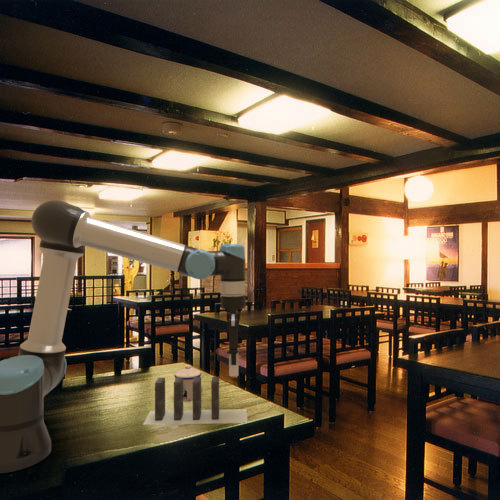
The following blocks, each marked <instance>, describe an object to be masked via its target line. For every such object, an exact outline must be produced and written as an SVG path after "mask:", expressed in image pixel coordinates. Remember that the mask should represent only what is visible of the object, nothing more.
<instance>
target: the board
mask: <svg viewBox="0 0 500 500" xmlns="http://www.w3.org/2000/svg"><path fill="white" fill-rule="evenodd" d="M243 422H247V423H248V408H244V409H243V408H239V409H237V408H236V409H231V408H229V409H219V419H218V420H212V409H201V416H200V420H193V409H188V410H186V409H183V416H182V418H181V420H174V409H172V410H165V415H164V417H163V419H162V421H155V410H150V411H149V413H148V414H147V416H146V418H145V420H144V422H142V426H147V425H153V426H154V425H159V426H161V425H196V424H197V425H199V424H200V425H204V424H205V425H208V424H210V425H211V424H244V423H243Z"/></svg>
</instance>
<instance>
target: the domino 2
mask: <svg viewBox="0 0 500 500" xmlns="http://www.w3.org/2000/svg"><path fill="white" fill-rule="evenodd" d="M173 410H174V420H181V418H182V416H183V410H184V401H183V377H177V378H176V379H175V378H174V381H173Z"/></svg>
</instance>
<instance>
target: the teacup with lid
mask: <svg viewBox="0 0 500 500" xmlns="http://www.w3.org/2000/svg"><path fill="white" fill-rule="evenodd" d="M201 376H202V372H201V371H200V370H198V369H195V368H194V367H191V364H186V365H184V368H182V369H179V370H177V371H176V372H175V373H174V380H175V379H176V378H177V377H183V402H193V380H194V377H201ZM202 393H203V384H202V383H201V395H202Z"/></svg>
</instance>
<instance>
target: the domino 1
mask: <svg viewBox="0 0 500 500" xmlns="http://www.w3.org/2000/svg"><path fill="white" fill-rule="evenodd" d="M154 411H155V421H162V419H163V417H164V415H165V411H166V378H165V377H158V378H157V380H156V381H155V382H154Z"/></svg>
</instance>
